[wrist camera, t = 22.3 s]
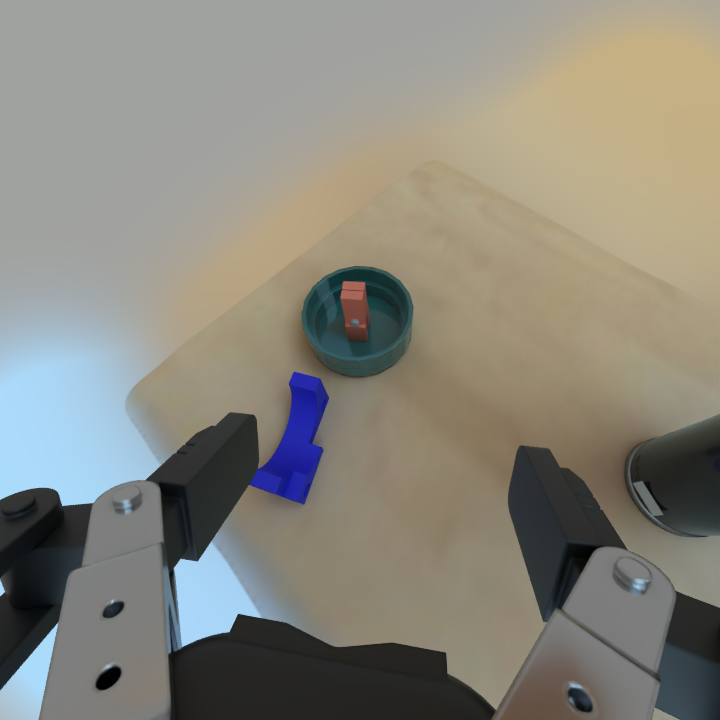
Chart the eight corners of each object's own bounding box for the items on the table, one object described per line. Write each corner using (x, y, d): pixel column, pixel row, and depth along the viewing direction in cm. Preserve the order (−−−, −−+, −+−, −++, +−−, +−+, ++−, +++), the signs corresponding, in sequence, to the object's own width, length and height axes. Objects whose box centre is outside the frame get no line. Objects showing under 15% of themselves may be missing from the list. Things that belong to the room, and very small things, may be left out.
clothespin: (370, 319, 49) (365, 277, 41) (366, 342, 47) (361, 304, 40) (351, 317, 49) (344, 276, 41) (348, 340, 47) (339, 302, 40)
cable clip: (304, 504, 40) (290, 498, 35) (266, 491, 41) (246, 483, 35) (340, 401, 45) (333, 382, 39) (305, 391, 45) (294, 371, 40)
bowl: (414, 293, 50) (416, 268, 46) (406, 382, 45) (408, 365, 40) (319, 287, 52) (312, 263, 48) (301, 373, 47) (291, 355, 42)
